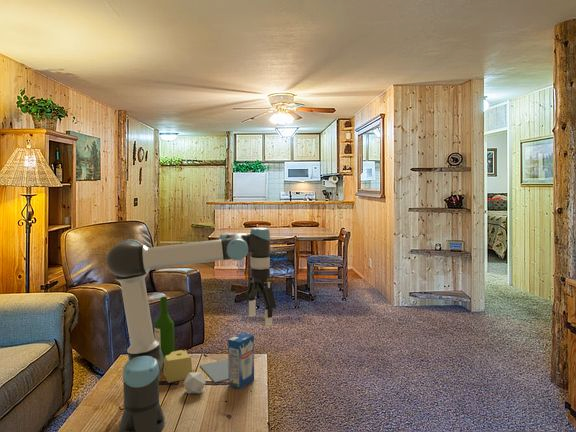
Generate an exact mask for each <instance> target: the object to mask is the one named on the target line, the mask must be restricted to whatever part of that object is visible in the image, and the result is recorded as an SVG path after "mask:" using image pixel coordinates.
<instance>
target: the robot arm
mask: <svg viewBox="0 0 576 432" xmlns="http://www.w3.org/2000/svg"><path fill="white" fill-rule="evenodd" d="M249 253H250V267H251V268H250V276H249V279H248V281H249V282H248V287H247V290H246V293H245V298H246V299H247V301H248V317H251V318H252V317H255V316H256V315H257V313H256V296H257V295H258V292H259V294H260V295H261V297H262V299H263V302H264V305H265V308H264V310H265V312H264V326H265V327H269V326H272V325H273V309H277V305H276V299H275V296H274V291H273V284H272V282H270V281H268V278H270V276H271V269H270V266H271V262H270V261H271V257H270V256H271V233H270V229H269V228H268V227H252V228H251V229H250V232H249V233H230V232H228V233H221V234H220V235H219V239H213V240H212V239H211V240H204V241H195V242H188V243H177V244H169V245H162V246H161V245H160V246H154V247H148V246H146V244H145V245H144V244H143V243H142V242H140V241H138V240H136V239H125V240H124V239H123V240H121V241H119V242H118V243H116V245H114V246H113V247H112V248H110V250H109V251H108V252H107V255H106V258H105V259H106V260H105V261H106V262H105V263H106V266H107V268H108V270H109V271H110V273H112V274H113V276H114V280H115V281H116V282H118V283H119V284H120V289H121V295H122V301H123V306H124V312H125V313H124V314H125V318H126V325H127V331H128V335H129V337H128V338H129V343H130V345H129V347H127V350H126V351H127V358H128V361H126V363H125V364H124V366H123V370H122V381H123V411H122V415H121V417H120V422H119V426H118V427H119V430H118V431H119V432H161V431H162V430H164V427H165V425H166V418H165V417H166V416H165V415H164V411H163V410H162V406H161V404H160V378H161V375H162V371H163V370H162V368H163V363H164V357H163V354H162V352H161V350H160V345H159V342H158V341H157V340H155V335H154V327H153V323H152V322H153V321H152V316H151V310H150V303H149V298H148V292H147V285H146V280H145V279H146V277H147V276H148V274H149V272H150V271H151V270H152V271H153V270H159V269H164V268H166V269H167V268H173V267H182V266H189V265H196V264H204V263H212V262H218V261H228V260H233V261H242V260H244V259H245V258H246V257H247V255H248V254H249Z"/></svg>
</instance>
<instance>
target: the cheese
mask: <svg viewBox="0 0 576 432" xmlns="http://www.w3.org/2000/svg"><path fill="white" fill-rule="evenodd" d="M192 363H193V362H192V358H191V355H189V353H188V352H187V349H179V350H175V351H174V352H171V353H170V355H166V356H165V358H164V368H163V370H162V371H163V375H164V376H165V378H166V381H167V384H170V383H174V381H175V382H179V381H185V379H186V377H187V376H188V374H189V373H190V372H192V371H193V370H192V369H193V366H192V365H193V364H192Z"/></svg>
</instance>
